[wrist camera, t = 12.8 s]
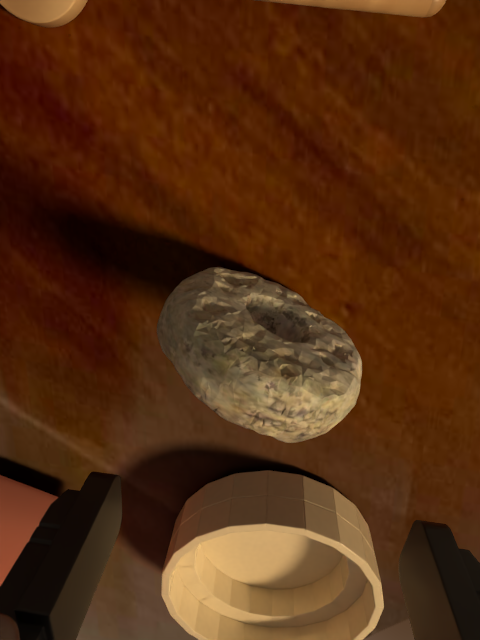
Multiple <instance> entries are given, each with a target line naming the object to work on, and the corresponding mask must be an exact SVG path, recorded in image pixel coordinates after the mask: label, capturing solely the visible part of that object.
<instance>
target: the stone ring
mask: <svg viewBox="0 0 480 640" xmlns="http://www.w3.org/2000/svg"><path fill="white" fill-rule="evenodd" d="M157 335H158V339H159V342H160V345H161V348H162V350H163V352H164V353H165V354H166V356H167V357H168V358H169V359H170V361H171V362H172V363H173V364H174V366H175V369H176V370H177V372H178V373H179V374H180V376H181V377H182V379H183V381H184V383H185V384H186V386H187V387H188V388H189V389H190V391H191V392H192V393H193V394H194V395H195V396H196V397H197V398H198V399H199V400H201V401H202V402H203V403H204V404H206V405H207V406H209V407H210V408H211V409H212V410H213V411H215V412H216V413H217V414H218V415H219V416H221V417H222V418H224V419H225V420H227V421H230V422H232V423H235V424H237V425H240V426H242V427H244V428H247V429H252V430H254V431H256V432H257V433H259V434H263V435H269V436H272V437H274V438H275V439H277V440H280V441H283V442H286V443H295V442H301V441H304V440H307V439H311V438H314V437H317V436H319V435H322V434H325V433H326V432H328V431H329V430H330V429H331V428H333V427H334V426H335V425H336V424H338V423H339V422H340V421H341V420H342V419H343V418H344V417H345V416H346V415H347V414H348V413H349V412H350V410H351V409H352V408H353V407H354V406H355V404H356V400H357V398H358V395H359V391H360V380H361V375H362V361H361V358H360V355H359V353H358V352H357V350H356V348H355V346H354V344H353V342H352V340H351V339H350V338H349V336H348V335H347V333H346V332H345V331H344V330H343V329H342V328H341V327H339V326H338V325H337V324H336V323H334V322H333V321H331V320H330V319H327V318H325V317H324V316H323V315H322V314H321V313H320V312H319V311H317V310H314V309H312V308H311V307H309V306H308V305H307V303H306V302H305V301H304V299H303V298H302V297H301V296H300V295H298V294H297V293H296V292H294V291H291V290H289V289H287V288H285V287H283V286H282V285H280V284H278V283H275V282H271V281H267V280H264V279H263V278H262V277H260V276H258V275H255V274H252V273H248V272H239V271H233V270H229V269H226V268H222V267H212V268H209V269H206V270H204V271H201V272H199V273H197V274H194V275H192V276H190V277H188V278H186V279H185V280H183V281H182V282H181V283H180V284H179V285H178V286H177V287H176V288H175V289H174V291H173V292H172V293H171V294H170V295H169V297H168V298H167V300H166V302H165V305H164V307H163V309H162V312H161V315H160V318H159V321H158V325H157Z"/></svg>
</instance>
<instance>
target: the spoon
mask: <svg viewBox="0 0 480 640" xmlns="http://www.w3.org/2000/svg"><path fill="white" fill-rule="evenodd" d="M255 1H265V2H275V3H285V4H295V5H305V6H315V7H325V8H335V9H345V10H355V11H364V12H374V13H384V14H394V15H404V16H414V17H430V16H433V15H435V14H436V13H437V12H438V11H439V10H440V9H441V8H442V7H443V5H444V4H445V2H446V0H255ZM86 2H87V0H0V4H1V5H2V6H3V7H4V8H5V9H6V10H7V11H9V12H10V13H11V14H13V15H14V16H16V17H18V18H20V19H22V20H24V21H27V22H29V23H32V24H34V25H37V26H41V27H59V26H62V25H65V24H66V23H68V22H70V21H72V20H73V19H74V18H75V17H76V16H77V15H78V14H79V13H80V12H81V10H82V9H83V8H84V6H85V4H86Z"/></svg>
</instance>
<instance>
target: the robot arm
mask: <svg viewBox="0 0 480 640" xmlns="http://www.w3.org/2000/svg"><path fill="white" fill-rule="evenodd" d="M121 520H122V496H121V478H120V476H119V475H113V474H107V473H100V472H91V473H90V474H89V476H88V478H87V479H86V481H85V483H84V485H83V486H82V488H81V490H80V491H76V490H69V489H68V490H67V491H65V492H64V493H63V494H62V495H61V496H60V497H58V498H57V499H56V500H55V501H54V502H53V503H51V504H50V506H49V508H48V509H47V511H46V513H45V514H44V516H43V518H42V519H41V521H40V522H39V526H38V527H36V529H35V531H34V532H33V534H32V536H31V537H30V540H29V542H27V544H26V545H25V547H24V549H23V550H22V552H21V554H20V555H19V557H18V558H17V560H16V562H15V563H14V565H13V567H12V568H11V570H10V572H9V573H8V575H7V576H6V578H5V580H4V581H3V583H2V585H1V586H0V640H76V638H77V635H78V633H79V630H80V628H81V625H82V623H83V620H84V618H85V615H86V613H87V610H88V608H89V606H90V603H91V601H92V598H93V596H94V593H95V591H96V588H97V586H98V583H99V581H100V578H101V576H102V573H103V571H104V568H105V566H106V563H107V561H108V558H109V556H110V553H111V551H112V549H113V546H114V544H115V541H116V539H117V536H118V533H119V529H120V525H121ZM399 578H400V583H401V587H402V591H403V595H404V599H405V603H406V607H407V611H408V615H409V619H410V623H411V627H412V631H413V635H414V639H415V640H480V563H479V562H478V561H477V559H476V558H475V557H474V556H473V555H472V553H471V552H470V551H469V550H464V549H458V546H457V544H456V541H455V539H454V536H453V534H452V532H451V530H450V528H449V527H448V526H447V525H446V524H441V523H434V522H427V521H420V520H416V521H415V522H414V523H413V525H412V528H411V530H410V533H409V535H408V538H407V540H406V543H405V545H404V547H403V550H402V552H401V555H400V559H399Z"/></svg>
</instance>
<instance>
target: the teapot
mask: <svg viewBox="0 0 480 640" xmlns="http://www.w3.org/2000/svg"><path fill="white" fill-rule="evenodd" d="M57 498H58V497H57V496H54V495H52V494H49V493H47V492H44V491H41V490H39V489H36V488H33V487H31V486H28V485H25V484H23V483H20V482H17V481H15V480H12V479H9V478H7V477H4V476H1V475H0V586H1V585H2V583H3V581H4V580H5V578H6V576H7V575H8V573H9V572H10V570H11V568H12V567H13V565H14V563H15V562H16V560H17V558H18V557H19V555H20V554H21V552H22V550H23V549H24V547H25V545H26V544H27V542H29V540H30V537H31V536H32V534H33V532H34V531H35V529H36V527H38V526H39V522H40V521H41V519H42V518H43V516H44V514H45V513H46V511H47V509H48V508H49V506H50V504H51V503H53V502H54V501H55V500H56V499H57Z"/></svg>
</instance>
